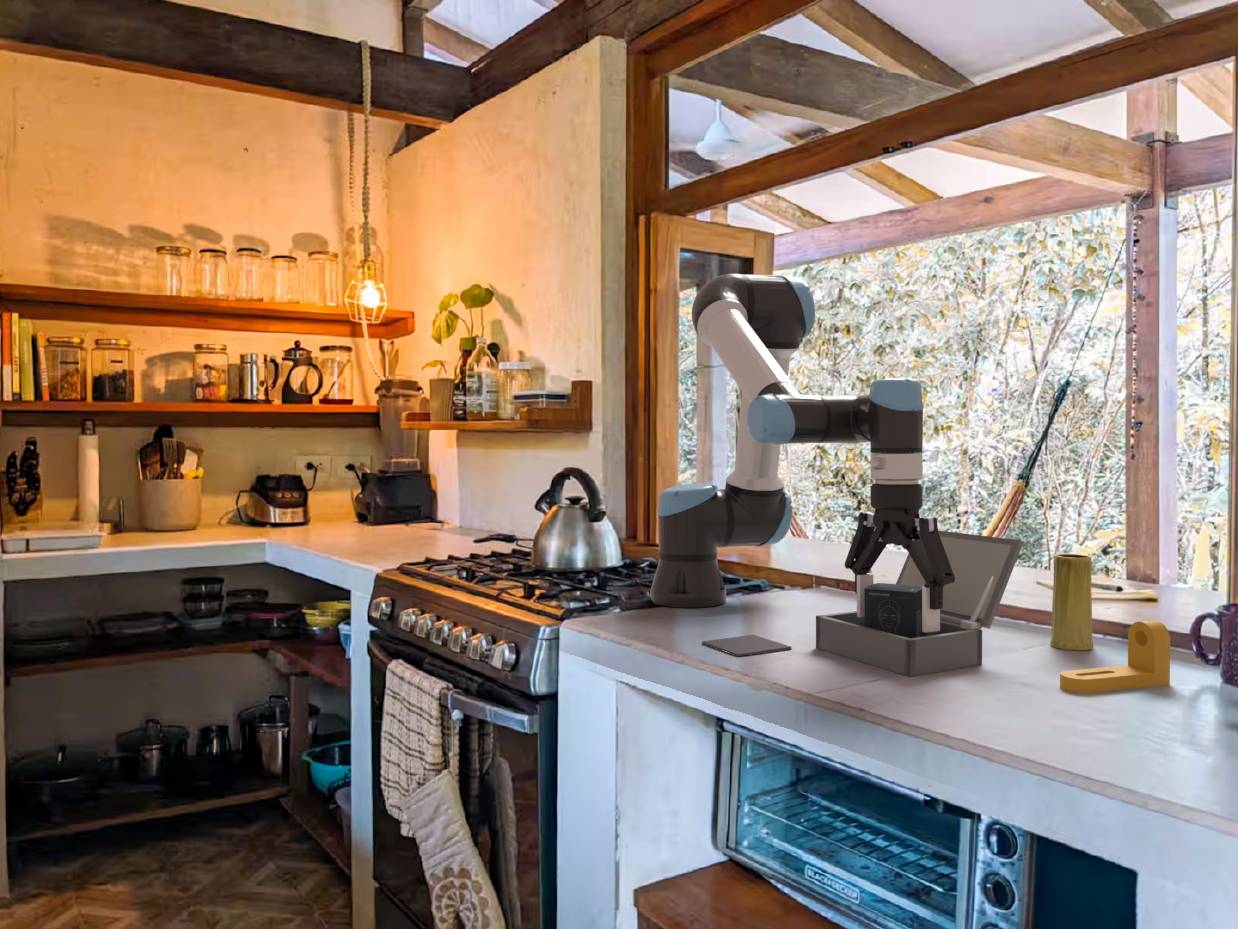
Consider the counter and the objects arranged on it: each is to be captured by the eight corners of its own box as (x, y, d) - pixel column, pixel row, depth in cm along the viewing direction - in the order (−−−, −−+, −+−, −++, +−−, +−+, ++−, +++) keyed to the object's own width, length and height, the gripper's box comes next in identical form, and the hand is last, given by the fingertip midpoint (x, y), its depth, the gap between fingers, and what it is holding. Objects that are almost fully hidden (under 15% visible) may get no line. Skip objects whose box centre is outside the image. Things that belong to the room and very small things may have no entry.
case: (815, 647, 148) (815, 535, 147) (921, 632, 158) (922, 528, 158) (910, 676, 130) (910, 549, 130) (1022, 657, 141) (1023, 540, 140)
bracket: (1142, 677, 130) (1143, 617, 129) (1169, 685, 126) (1170, 623, 125) (1052, 686, 125) (1053, 624, 125) (1077, 695, 121) (1077, 631, 121)
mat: (702, 643, 151) (702, 641, 151) (753, 637, 156) (753, 634, 156) (738, 656, 142) (738, 654, 142) (791, 649, 147) (791, 646, 147)
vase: (1090, 643, 149) (1091, 554, 149) (1096, 652, 144) (1097, 559, 143) (1048, 641, 151) (1049, 552, 151) (1052, 649, 146) (1053, 557, 145)
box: (927, 655, 142) (927, 585, 142) (915, 663, 138) (915, 591, 137) (876, 649, 147) (876, 581, 147) (863, 656, 142) (863, 586, 142)
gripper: (821, 480, 151) (822, 612, 151) (942, 486, 129) (942, 641, 129) (858, 478, 154) (858, 608, 155) (981, 484, 132) (981, 635, 133)
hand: (896, 623), depth 142 cm, fingers open, 13 cm apart
